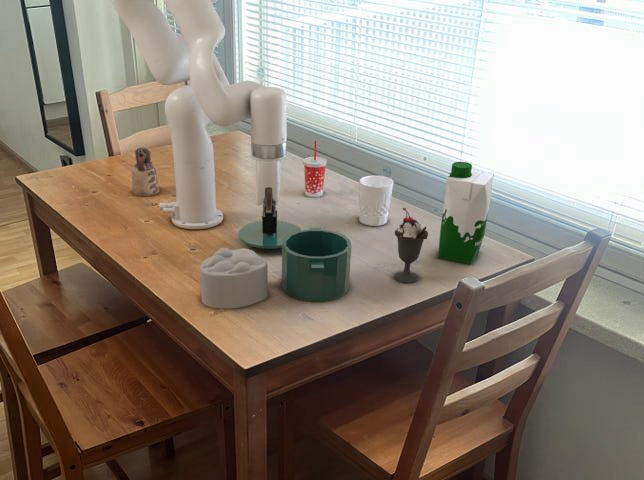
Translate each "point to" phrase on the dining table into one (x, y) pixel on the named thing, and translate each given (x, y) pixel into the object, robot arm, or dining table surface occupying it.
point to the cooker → (315, 264)
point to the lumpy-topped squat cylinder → (233, 279)
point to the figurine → (144, 174)
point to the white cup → (375, 199)
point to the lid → (265, 234)
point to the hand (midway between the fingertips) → (269, 229)
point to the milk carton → (464, 213)
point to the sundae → (409, 246)
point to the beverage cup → (314, 174)
